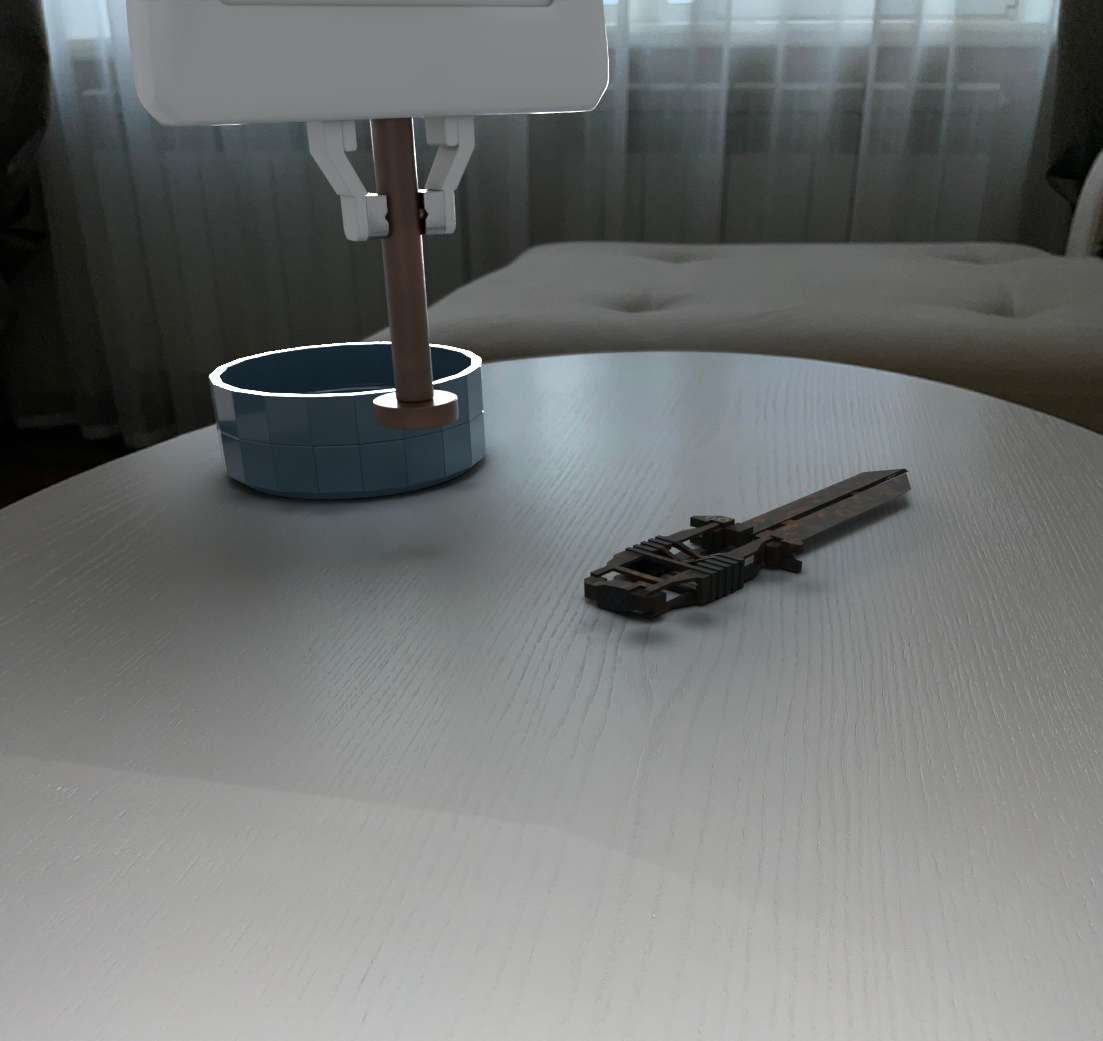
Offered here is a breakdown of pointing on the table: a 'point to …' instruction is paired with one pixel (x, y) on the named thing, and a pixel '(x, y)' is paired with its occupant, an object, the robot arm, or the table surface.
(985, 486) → the table surface
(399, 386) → the stirrer
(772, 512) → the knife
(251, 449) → the bowl
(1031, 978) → the table surface
